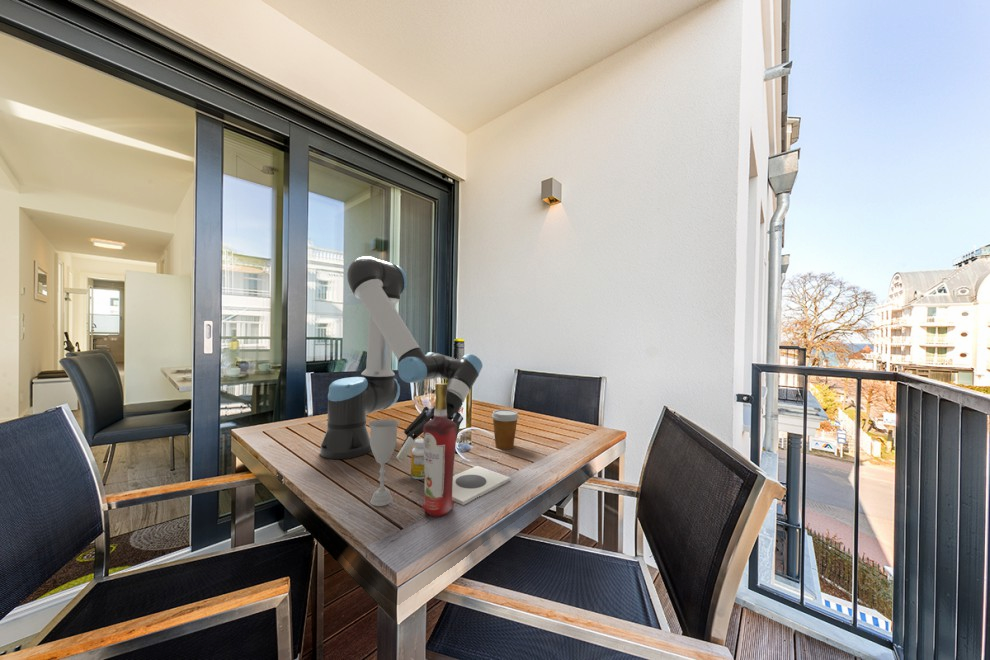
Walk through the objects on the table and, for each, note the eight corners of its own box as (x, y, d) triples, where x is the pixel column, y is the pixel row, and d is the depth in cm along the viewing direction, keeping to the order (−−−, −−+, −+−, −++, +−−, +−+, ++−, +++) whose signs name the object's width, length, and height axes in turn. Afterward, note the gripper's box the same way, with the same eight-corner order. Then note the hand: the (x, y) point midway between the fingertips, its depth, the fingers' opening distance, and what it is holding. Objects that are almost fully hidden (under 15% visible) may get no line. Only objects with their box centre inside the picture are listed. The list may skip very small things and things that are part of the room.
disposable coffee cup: (515, 452, 114) (516, 416, 114) (488, 449, 116) (489, 414, 116) (519, 443, 124) (520, 410, 124) (493, 441, 126) (494, 408, 126)
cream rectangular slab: (477, 468, 100) (477, 465, 100) (510, 480, 92) (510, 476, 92) (428, 489, 86) (429, 485, 86) (463, 505, 78) (463, 500, 78)
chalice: (402, 501, 79) (405, 423, 79) (374, 511, 74) (376, 428, 75) (388, 490, 84) (390, 417, 85) (360, 499, 80) (363, 421, 80)
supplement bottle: (415, 471, 97) (416, 436, 97) (433, 472, 96) (434, 438, 96) (407, 478, 91) (408, 442, 92) (426, 480, 91) (427, 444, 91)
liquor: (413, 512, 74) (417, 384, 75) (437, 499, 80) (440, 380, 81) (438, 524, 70) (442, 387, 70) (461, 509, 76) (464, 383, 77)
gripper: (487, 409, 101) (452, 481, 87) (430, 399, 113) (391, 462, 99) (477, 393, 96) (439, 467, 83) (419, 385, 109) (377, 448, 95)
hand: (413, 464), depth 91 cm, fingers open, 10 cm apart
